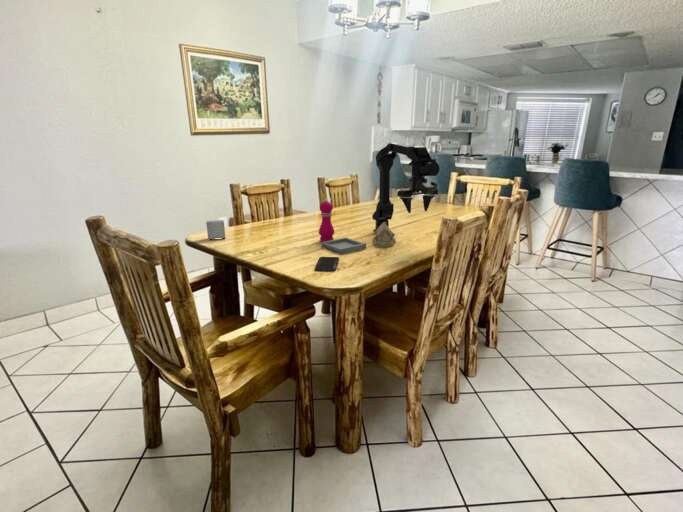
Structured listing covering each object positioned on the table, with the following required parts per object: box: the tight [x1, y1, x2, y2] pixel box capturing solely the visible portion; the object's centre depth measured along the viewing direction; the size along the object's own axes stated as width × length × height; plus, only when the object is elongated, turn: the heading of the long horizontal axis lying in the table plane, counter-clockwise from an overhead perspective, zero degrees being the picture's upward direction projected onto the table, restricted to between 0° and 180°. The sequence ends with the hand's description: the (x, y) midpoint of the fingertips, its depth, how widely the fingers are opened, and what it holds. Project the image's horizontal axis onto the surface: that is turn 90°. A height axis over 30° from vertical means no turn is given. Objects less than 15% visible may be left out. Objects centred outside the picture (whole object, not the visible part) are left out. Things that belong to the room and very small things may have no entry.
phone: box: [314, 256, 340, 273], centre depth 137 cm, size 8×1×15 cm
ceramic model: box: [371, 222, 396, 248], centre depth 165 cm, size 14×11×10 cm
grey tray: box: [320, 237, 367, 255], centre depth 158 cm, size 14×14×2 cm
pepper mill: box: [318, 197, 335, 243], centre depth 167 cm, size 7×7×20 cm
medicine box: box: [205, 219, 226, 240], centre depth 173 cm, size 8×4×9 cm, turn 108°
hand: (417, 212), depth 161 cm, fingers open, 9 cm apart
